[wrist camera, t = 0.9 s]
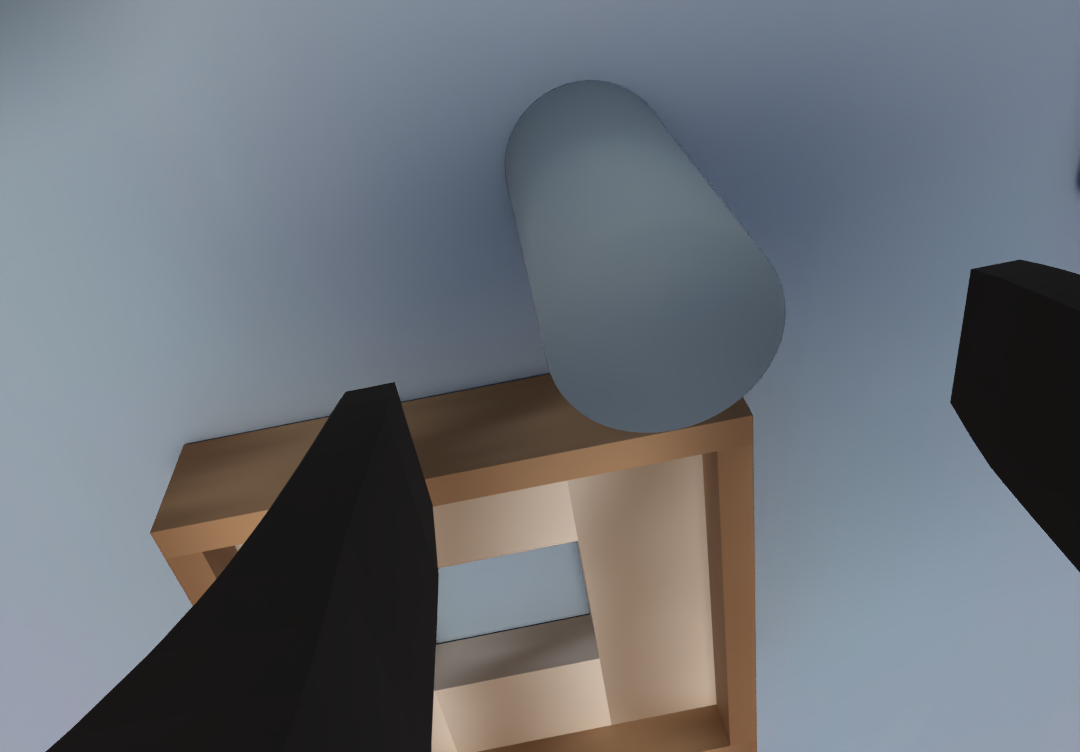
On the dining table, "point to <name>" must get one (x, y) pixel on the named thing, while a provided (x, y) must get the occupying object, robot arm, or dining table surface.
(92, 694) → the dining table surface
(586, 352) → the peg
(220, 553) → the tray box
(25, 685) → the dining table surface
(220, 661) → the robot arm
